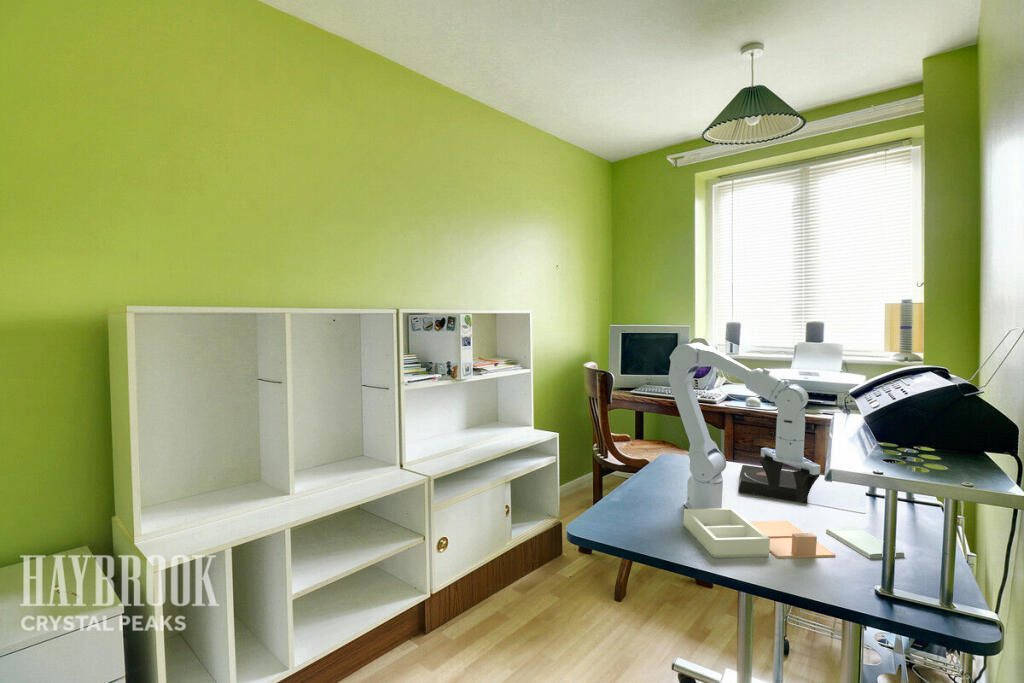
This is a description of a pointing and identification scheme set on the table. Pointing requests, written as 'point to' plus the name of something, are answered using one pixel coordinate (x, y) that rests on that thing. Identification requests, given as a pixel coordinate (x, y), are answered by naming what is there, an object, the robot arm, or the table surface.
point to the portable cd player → (757, 484)
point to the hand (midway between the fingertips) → (787, 495)
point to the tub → (726, 533)
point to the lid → (791, 540)
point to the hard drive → (860, 541)
